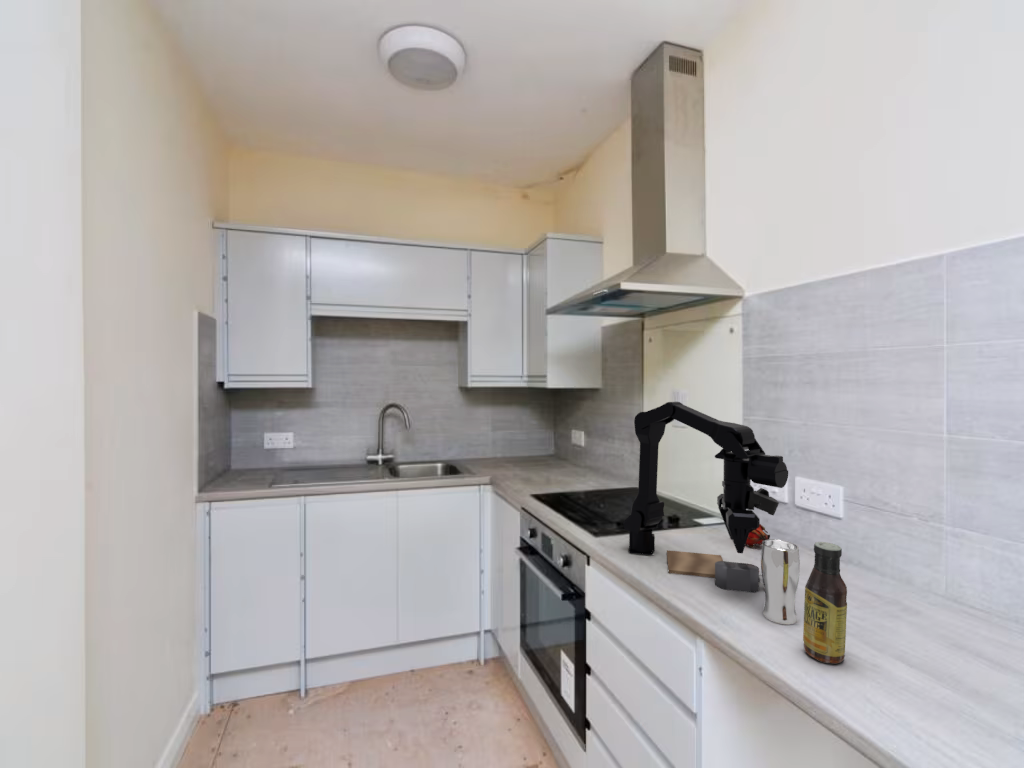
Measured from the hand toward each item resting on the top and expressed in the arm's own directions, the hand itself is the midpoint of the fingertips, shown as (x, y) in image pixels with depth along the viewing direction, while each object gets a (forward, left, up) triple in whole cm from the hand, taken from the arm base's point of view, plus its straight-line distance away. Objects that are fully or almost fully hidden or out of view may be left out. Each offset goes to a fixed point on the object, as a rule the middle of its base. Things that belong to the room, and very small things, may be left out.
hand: (736, 545), depth 112 cm
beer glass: (+6, -13, -10) cm, 17 cm away
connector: (+1, 0, -10) cm, 10 cm away
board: (-8, +11, -10) cm, 17 cm away
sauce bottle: (+10, -26, -10) cm, 30 cm away
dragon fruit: (+9, +32, -10) cm, 35 cm away
